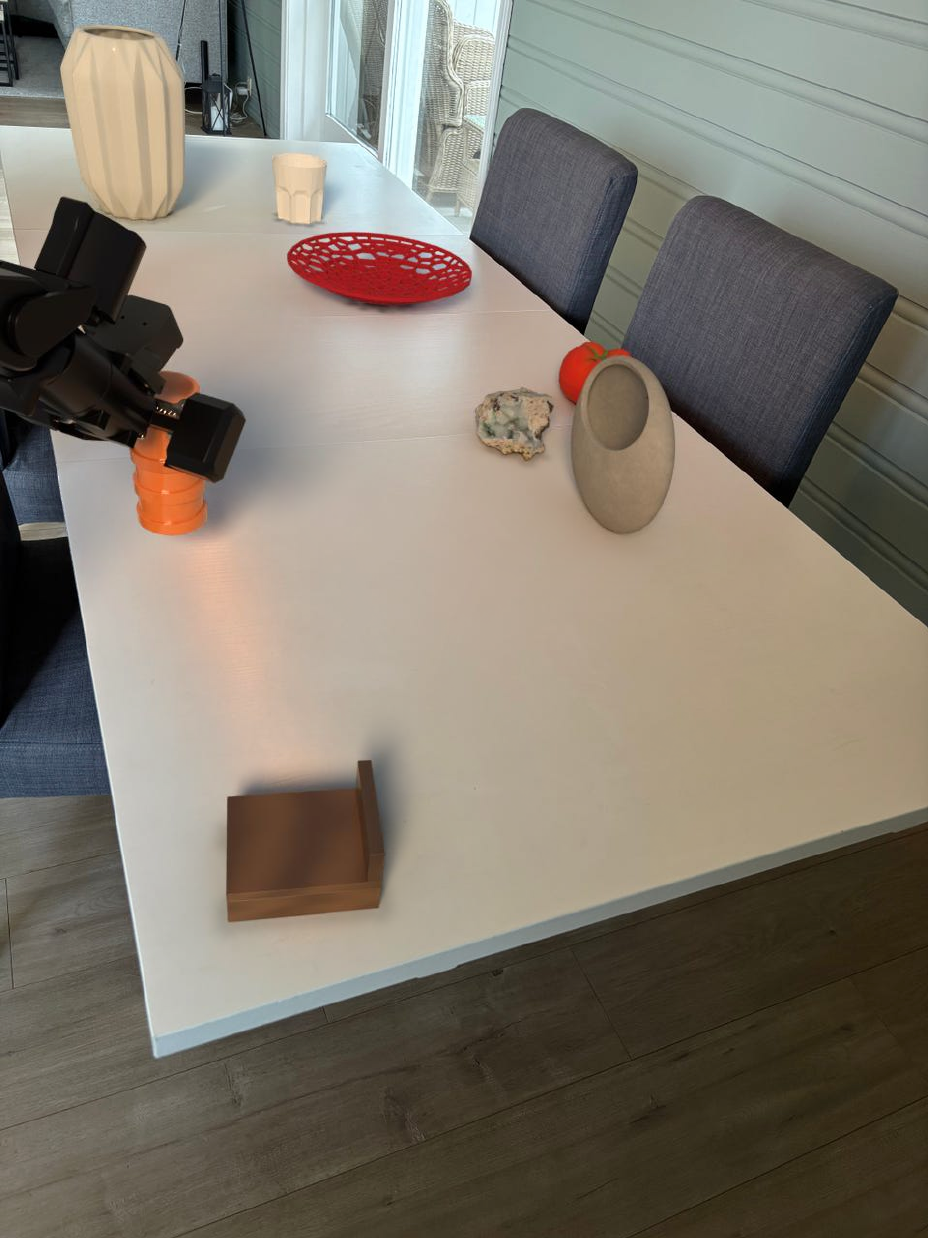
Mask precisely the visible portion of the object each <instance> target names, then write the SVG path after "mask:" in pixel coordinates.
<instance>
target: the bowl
mask: <svg viewBox="0 0 928 1238" xmlns="http://www.w3.org/2000/svg"><path fill="white" fill-rule="evenodd" d="M344 238H351V239H352V240H347V239H344ZM325 239H326V240H327V239H328V241H320V240H325ZM304 245H306V246H308V247H311V249H306V248H304ZM352 245H358V246H359V248H356V249H351V248H350V247H349V246H352ZM330 246H334V247H336V248H337V249H338V250H337V249H332V248H330ZM299 248H300V249H299ZM326 251H327V252H326ZM437 252H438V253H440V254H437ZM378 253H380V254H378ZM381 253H382V254H385V255H381ZM360 254H367V255H371V256H372V257H373V258H362V257H361V258H360V257H359V256H358V255H360ZM422 254H430V255H431V256H430V257H421V256H420V255H422ZM333 256H336V257H333ZM394 256H403V258H400V257H394ZM322 257H325V258H327V260H325V259H324V258H322ZM348 257H351V258H348ZM449 257H450V259H449V260H446V259H447V258H449ZM412 258H414V259H415V260H417V261H412V260H409V259H412ZM436 259H437V260H436ZM286 261H287V264H288V266H289V268H290V269H291V270H292V271H293V272H294V274H296V275H297V276H298V277H300V278H301V279H303V280H305V281H306V282H308V283H310V284H313V285H314V286H317V287H319V288H321V289H324V290H326V291H328V292H331V293H334V294H336V295H339V296H342V297H345V298H348V299H351V300H355V301H358V302H362V303H366V304H372V305H378V306H402V305H413V304H420V303H427V302H428V303H429V302H434V301H438V300H442V299H445V298H449V297H453V296H455V295H457V294H459V293H461V292H463V291H465V290H466V289H467V288H468V287H470V285H471V282H472V277H473V270H472V268H471V267H470V265H469V263H467V262H466V261H465V260H464V259H463V258H461V257H460V256H458V255H457V254H455V253H453V252H452V251H450V250H447V249H445V248H443V247H440V246H438V245H436V244H432V243H428V242H425V241H422V240H418V239H414V238H409V237H406V236H400V235H394V234H387V233H378V232H362V231H361V232H359V231H346V232H329V233H322V234H316V235H312V236H309V237H306V238H304V239H301V240H300V241H298V242H296V243H295V244H293V245H291V247H290V249H289V250H288V252H287V253H286ZM454 261H456V262H455V263H453V262H454ZM427 263H429V264H427ZM459 264H460V265H459ZM438 265H445V266H444V267H442V268H438V269H435V268H434V266H438ZM311 266H312V267H311ZM403 266H404V267H403ZM313 267H314V268H313ZM405 267H408V268H405ZM315 268H317V269H319V270H317V269H315ZM418 269H419V270H425V271H426V270H427V271H428V272H426V273H421V272H418V271H417V270H418ZM433 277H434V278H433Z"/></svg>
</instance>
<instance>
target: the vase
mask: <svg viewBox="0 0 928 1238" xmlns="http://www.w3.org/2000/svg"><path fill="white" fill-rule="evenodd" d="M59 69H60V70H59V71H60V77H61V83H62V89H63V95H64V96H63V97H64V102H65V108H66V112H67V117H68V122H69V127H70V132H71V137H72V142H73V147H74V152H75V157H76V161H77V166H78V169H79V175H80V179H81V181H82V183H83V184H84V186H85V187H86V188H87V190H88V191H89V193H90V194H91V196H92V197H93V199H94V200H95V201H96V203H97V205H98V206H99V207H100V208H101V209H102V211H103V212H104V213H105V214H109V215H113V216H114V217H115V218H119V219H127V220H131V221H138V220H139V221H141V220H142V221H143V220H144V221H153V220H156V219H162V218H166V217H167V216H168V214H172V213H173V211H174V208H175V207H176V205H177V202H178V200H179V197H180V195H181V193H182V191H183V185H184V183H185V176H186V167H185V166H186V96H185V77H184V73H183V71H182V69H181V67H180V65H179V63H178V61H177V59H176V58H175V56H174V54H173V52H172V51H171V49H170V47H169V45H168V43H167V42H166V40H165V39H164V38H163V37H162V36H161V35H160V34H159V33H158V32H153V31H149V30H146V29H144V28H137V27H135V28H134V27H129V26H126V25H111V24H97V25H92V24H86V25H82V26H78V27H75V28H74V29H73V31H72V33H71V37H70V39H69V41H68V44H67V47H66V49H65V52H64V55H63V57H62V60H61V64H60V67H59Z"/></svg>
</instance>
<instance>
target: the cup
mask: <svg viewBox="0 0 928 1238" xmlns="http://www.w3.org/2000/svg"><path fill="white" fill-rule="evenodd" d="M271 163H272V164H271V166H272V174H273V182H274V186H275V199H276V213H277V218H278V219H281V220H285V221H287V222H290V224H296V223H297V224H307V225H310V224H311V223H315V222H321V221H322V210H323V199H324V192H325V191H324V190H325V185H326V176H327V169H328V168H327V167H328V162H327V160H325V159H324V158H321V157H319V156H316V155H312V154H307V153H300V152H280V153H276V154H274V155H272V156H271Z"/></svg>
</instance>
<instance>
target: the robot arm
mask: <svg viewBox="0 0 928 1238" xmlns="http://www.w3.org/2000/svg"><path fill="white" fill-rule="evenodd" d="M146 251H147V243H146V242H145V240H144V239H143V238H142V236H140V235H139V234H138V233H137V232H136V231H134V230H131V229H129V228H126V227H125V226H123V224H121V223H119V222H117V221H116V220H114V219H112V218H111V217H109V216H106V215H104V214H103V213H101V212H98V211H96V210H95V209H94V208H93V207H92V206H91V205H90V204H89V203H88V202H86V201H83V200H79V199H75V198H72V197H68V196H65V195H63V196H61V197H60V198H59V200H58V203H57V205H56V208H55V209H54V212H53V217H52V223H51V226H50V228H49V230H48V232H47V235H46V237H45V240H44V242H43V244H42V247H41V249H40V252H39V253H38V257H37V259H36V261H35V264H34V266H33V268H31V267H27V266H25V265H20V264H16V263H13V262H11V261H10V262H9V261H7V260H3V259H0V408H1V409H3V410H6V411H9V412H13V413H15V414H16V415H17V416H18V417H20V418H22V419H23V420H25V421H27V422H29V423H31V424H32V425H33V424H34V425H36V426H40V427H43V428H46V429H49V430H52V431H53V432H59V433H62V434H65V435H67V436H70V437H73V438H77V439H79V440H82V441H90V442H108V443H109V442H110V443H112V444H116V445H119V446H122V447H125V448H128V449H129V448H131V449H133V448H134V446H135V443H136V441H137V438H138V439H142V440H143V439H144V438H145V437H146V434H147V429H148V427H151V428H154V429H157V430H161V431H164V432H167V433H168V434H167V436H166V438H167V439H169V440H170V441H169V444H168V446H167V449H166V454H167V458H166V460H165V463H164V467H167V468H170V469H173V470H176V471H179V472H182V473H185V474H188V475H191V476H194V477H197V478H200V479H203V480H205V482H209V483H212V484H217V483H218V482H220V481H222V480H224V479H225V478H224V477H225V475H226V473H227V471H228V468H229V466H230V463H231V461H232V457H233V455H234V453H235V450H236V448H237V446H238V442H239V440H240V438H241V435H242V432H243V429H244V427H245V424H246V422H247V419H246V417H245V414H244V412H243V410H241V409H240V408H239V407H238V406H237V405H236V404H234V403H233V402H230V401H228V400H227V401H226V400H223V399H220V398H217V397H214V396H211V395H207V394H204V393H201V392H200V393H198V392H195V393H194V394H192V395H191V396H189V397H188V398H187V399H182V400H180V401H179V402H178V403H176V404H174V403H171V402H167V401H164V400H161V399H158V398H155V397H154V396H155V394H158V395H161V393H162V391H163V388H164V386H165V383H166V380H165V379H164V378H162V377H161V376H160V375H159V374H158V372H159V371H163V369H164V368H165V366H166V365H167V364H168V362H169V361H170V360H171V358H172V357H173V355H174V354H175V353H176V351H177V349H180V348H181V347H182V346H183V344H184V341H185V340H184V337H183V334H182V331H181V329H180V326H179V323H178V322H177V320H176V317H175V315H174V312H173V309H172V307H171V306H169V305H168V304H165V303H162V302H158V301H156V300H152V299H149V298H145V297H142V296H138V295H135V294H129V293H130V290H131V287H132V285H133V282H134V280H135V277H136V275H137V274H138V273H137V272H138V270H139V268H140V265H141V262H142V260H143V257H144V255H145V253H146ZM80 326H81V328H82V330H81V329H80V328H79V327H80ZM155 411H156V412H155ZM158 411H159V412H160V413H163V414H165V415H163V414H160V413H157V412H158ZM166 414H167V415H169V416H171V415H172V417H174V418H172V417H169V416H166ZM176 415H178V416H179V417H177V416H176Z"/></svg>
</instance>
